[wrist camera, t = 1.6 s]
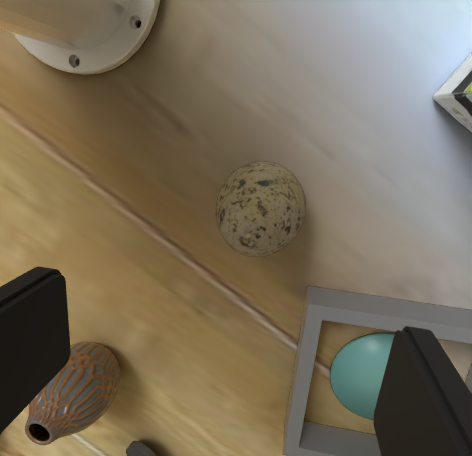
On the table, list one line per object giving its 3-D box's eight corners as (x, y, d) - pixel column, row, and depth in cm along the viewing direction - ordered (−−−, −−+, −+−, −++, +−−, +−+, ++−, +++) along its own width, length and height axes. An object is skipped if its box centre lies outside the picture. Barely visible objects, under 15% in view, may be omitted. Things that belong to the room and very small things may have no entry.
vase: (144, 366, 35) (96, 443, 26) (103, 398, 37) (47, 479, 29) (93, 318, 34) (28, 382, 26) (54, 354, 36) (-17, 424, 28)
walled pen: (307, 285, 29) (308, 303, 26) (506, 315, 27) (531, 338, 24) (284, 426, 34) (283, 454, 31) (451, 460, 32) (467, 493, 29)
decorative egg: (319, 205, 27) (331, 252, 18) (255, 243, 29) (236, 304, 19) (277, 140, 26) (266, 153, 17) (214, 183, 28) (172, 217, 18)
